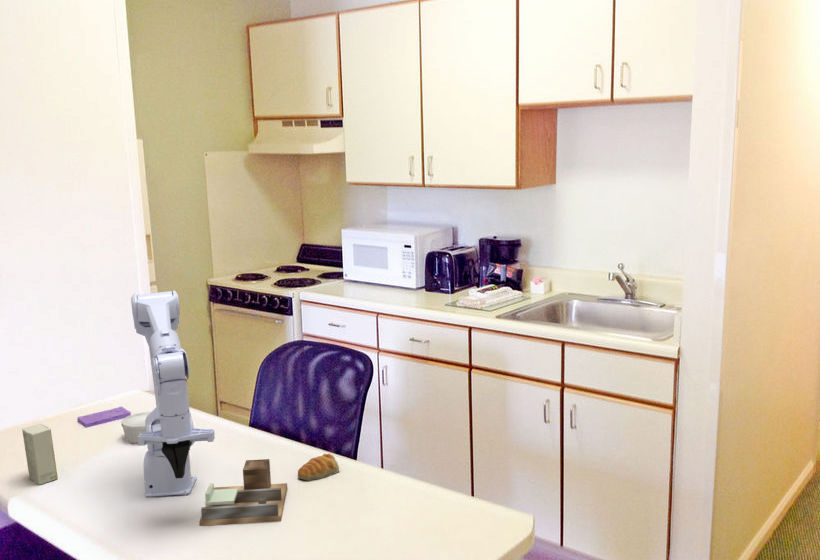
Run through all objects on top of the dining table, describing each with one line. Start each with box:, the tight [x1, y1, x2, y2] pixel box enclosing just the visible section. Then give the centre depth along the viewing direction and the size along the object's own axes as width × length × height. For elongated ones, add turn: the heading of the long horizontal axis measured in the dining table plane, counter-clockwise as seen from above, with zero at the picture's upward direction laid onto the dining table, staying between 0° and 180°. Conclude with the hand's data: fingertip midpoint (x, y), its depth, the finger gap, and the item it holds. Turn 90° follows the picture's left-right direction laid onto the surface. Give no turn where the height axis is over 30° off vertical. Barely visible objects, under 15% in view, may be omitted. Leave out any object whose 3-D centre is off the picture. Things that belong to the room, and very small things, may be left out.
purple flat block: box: [77, 406, 132, 429], centre depth 211 cm, size 7×13×2 cm, turn 130°
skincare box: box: [22, 423, 59, 486], centre depth 171 cm, size 6×4×12 cm
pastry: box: [297, 453, 340, 481], centre depth 171 cm, size 9×7×4 cm
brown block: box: [242, 458, 272, 490], centre depth 161 cm, size 5×5×6 cm
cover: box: [204, 482, 238, 506], centre depth 152 cm, size 6×6×2 cm
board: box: [198, 482, 288, 527], centre depth 156 cm, size 16×15×3 cm
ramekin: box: [120, 411, 159, 445], centre depth 196 cm, size 11×11×5 cm
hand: (180, 476), depth 151 cm, fingers closed
